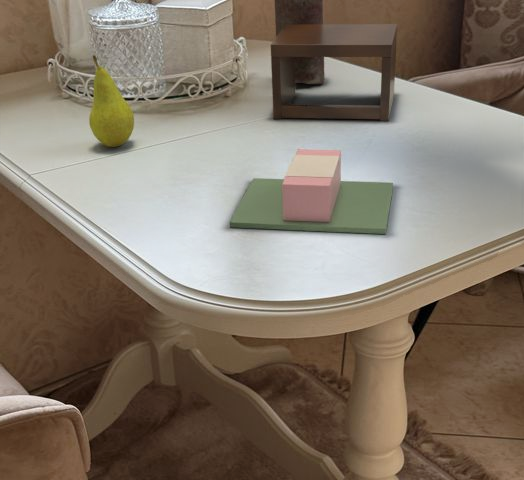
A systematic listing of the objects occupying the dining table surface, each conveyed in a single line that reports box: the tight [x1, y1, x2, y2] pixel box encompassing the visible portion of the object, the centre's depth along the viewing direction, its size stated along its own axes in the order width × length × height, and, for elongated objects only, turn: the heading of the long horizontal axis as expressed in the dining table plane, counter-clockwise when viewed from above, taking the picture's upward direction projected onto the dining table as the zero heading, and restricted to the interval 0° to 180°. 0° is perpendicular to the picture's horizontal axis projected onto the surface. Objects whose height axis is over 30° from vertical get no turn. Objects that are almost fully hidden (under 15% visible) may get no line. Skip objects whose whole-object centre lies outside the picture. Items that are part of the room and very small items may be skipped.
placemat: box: [229, 177, 394, 235], centre depth 85 cm, size 16×12×1 cm
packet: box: [282, 148, 342, 222], centre depth 84 cm, size 5×10×4 cm, turn 169°
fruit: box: [88, 55, 135, 148], centre depth 101 cm, size 6×6×12 cm
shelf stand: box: [270, 23, 398, 122], centre depth 111 cm, size 16×12×10 cm
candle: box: [274, 0, 325, 85], centre depth 119 cm, size 8×7×20 cm
